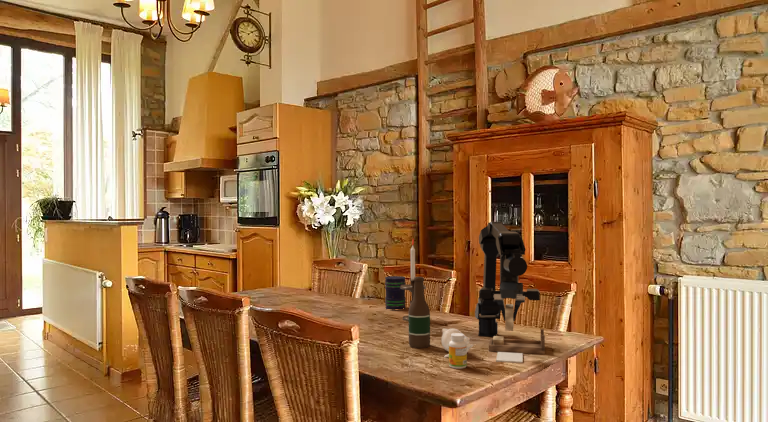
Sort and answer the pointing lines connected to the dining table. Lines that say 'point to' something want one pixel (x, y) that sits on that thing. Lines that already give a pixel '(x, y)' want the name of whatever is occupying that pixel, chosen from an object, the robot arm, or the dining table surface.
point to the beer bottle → (419, 317)
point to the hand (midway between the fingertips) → (509, 320)
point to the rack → (520, 345)
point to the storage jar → (395, 292)
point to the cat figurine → (447, 338)
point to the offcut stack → (498, 340)
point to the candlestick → (411, 286)
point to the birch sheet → (509, 317)
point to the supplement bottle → (457, 351)
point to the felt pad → (509, 357)
